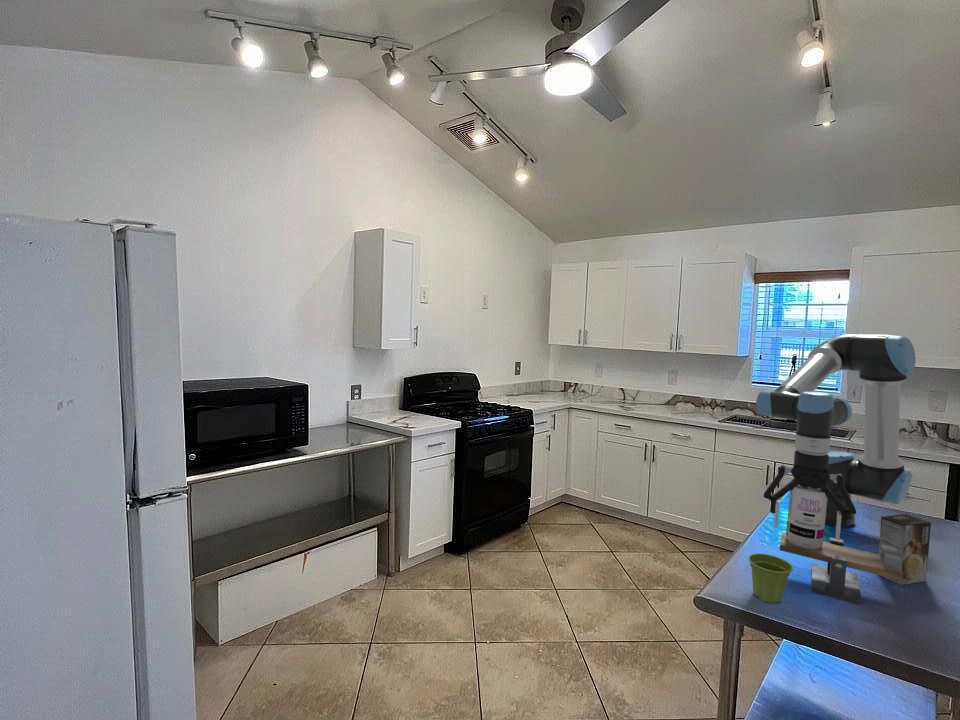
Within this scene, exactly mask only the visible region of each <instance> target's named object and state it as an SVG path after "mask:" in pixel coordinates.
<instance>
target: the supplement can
mask: <svg viewBox="0 0 960 720" xmlns="http://www.w3.org/2000/svg"><path fill="white" fill-rule="evenodd" d="M788 500H789V501H788V508H787V509H788V510H787V521H786V528H785V533H786V538H787V540H788V541H789V542H790V543H791V544H793V545H795V546H798V547H801V548H805V549H812V550H815V549H819V548H820V547H822V545H823V542H824V534H825V528H826V526H825V525H826V524H825V518H826V509H827V500H828V496H827V495H826V494H825V492H823V491H822V489H821V488H817V489H813V488H810V487H802V486H801V485H797V486H796V487H794V488H793V489H791V490H790V491H789V499H788Z"/></svg>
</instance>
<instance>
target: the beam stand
mask: <svg viewBox="0 0 960 720" xmlns="http://www.w3.org/2000/svg"><path fill="white" fill-rule="evenodd" d="M828 540H829V541H828V543H832V544H836V545H840V546H844V540H843V539H840V540H836V537H829V538H828ZM826 563H827V565H822V564H819V563H814V562H811V565H810V566H811V567H810V568H811V572H812V574H811V593H813V594H818V595H821V596H826V597H830V598H833V599H837V600H840V601H841V600H842V601H845V602H849V603H853V604H857V605H860V606H862V605H863V598H862V593H861V588H860V583H859V577H858V573H857V572H853V571H849V570H847V567H846V563H847V561H846V558H842V557H838V556H833V555H831V563H829V562H826ZM811 572H810V573H811Z"/></svg>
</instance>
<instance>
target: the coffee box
mask: <svg viewBox="0 0 960 720" xmlns="http://www.w3.org/2000/svg"><path fill="white" fill-rule="evenodd" d="M880 517H881V519H880V530H879V531H880V532H879V543H878V554H879V555H880V553H881V545H885V546H890V547H894V548H897V550H898V553H899V555H900V557H901V560H902V561H901V570H902V572H903V581H901V580H897V579H893V578H889V577H885V576H881V575H879V576H880V577H882V578H884V579H887V580H889V581H891V582H893V583H895V584H897V585H900V586H904V585H910V584H916V583H917V584H918V583H923V582H927V575H928V565H929V564H928V562H929V553H930V537H931V527H932V526H931V524H932V522H930V521H928V520H925V519H921V518H919V517H915V516H913V515H910V514H906V513H905V514H904V513H903V514H895V515H886V516H885V515H884V516H880Z"/></svg>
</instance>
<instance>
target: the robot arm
mask: <svg viewBox="0 0 960 720" xmlns="http://www.w3.org/2000/svg"><path fill="white" fill-rule="evenodd" d="M915 364H916V353H915V348H914V345H913V343H912V342H911V340H910V339H909V338H908V337H906V336H902V335H892V334H857V333H855V334H854V333H852V334H851V333H847V334H842V335H838V336H835V337H832V338H830V339H827V340H825V341H824V342H822V343H820V344H818V345H816V346H815V347H814V348H813V349H812V350H811V351H810V352H809V353H808V355H807V359H806V360H805V361H804V362H803V363H802V364H801V365H800V366H799V367H798V368H797V369H796V370H795V371H793V373H792V374H791V375H790V376H789V377H788V378H786V379H785V381H783V382H782V383H781V384H780V385H779V386H778V387H777V388H776V389H775V390H771V389H769V390H768V389H766V390H765V389H764V390H760V392H759V393H758V394H757V397H756V400H755V406H756V411H757V412H758V414H759V415H762V416H767V417H770V418H776V419H782V420H783V419H784V420H792V421H796V431H795V433H796V434H795V443H794V448H795V449H796V450H795V451H794V456H793V467H792V468H791V467H787V466H785V465H784V464H781V465H780V467H779V469H778V470H779V471H778V473H777V475H776V476H775V477H774V479H773V480H772V481H771V483H770V484H769V486H768V487H767V488H766V489H765V491H764V494H763V498H764V499H767V500H769V502H770V506H769V507H770V510H769V511H770V513H771V514H774V523H773V527H774V528H778V524H779V514H780V513H779V512H780V499H781V498H783V496H785V495H786V494H787V493H790V490H791V489H793V488H794V487H796V486H797V485H801V486H802V487H810V488H813V489H817V488H821V489H822V491H823V492H825V494H826V495H827V496H828V500H827V509H826V518H825V525H829V526H835V538H836V540H841V527H843V528H846V527H852V526H851V525H853V524H854V525H855V524H856V514H857V509H856V507H855V504H854V503H853V501H852V497H851V495H853V496H857V497H862V498H865V499H870V500H873V501H878V502H881V503H883V504H884V503H885V504H886V503H887V504H892V505H900V504H901V503H902V502H904V500H905V499H906V497H907V495H908V492H909V489H910V486H911V482H912V476H913V475H912V471H911V470H910V469H908V468H905V462H904V460H903V459H901V457H899V446H900V445H899V444H900V443H899V441H900V439H899V438H900V437H899V436H900V435H899V434H900V409H901V407H900V406H901V405H900V401H901V399H900V398H901V384H902V383H904V382H905V381H907V380H908V379H907V378H908V376H910V375H913V373H914V372H915V368H916V365H915ZM839 371H854V372H855V371H857V372H859V374H858V375H859V379H860V380H861V381H863V382H864V436H863V437H864V443H863V446H864V449H863V451H864V452H863V453H862V454H861V455H859V456H858V459H855V455H854V454H853V453H850V452H846V451H832V450H830V448H831V436H832V435H831V434H832V427H834V426H840V425H842V424H844V423H846V422H848V421H849V420H850V419H851V417H852V414H853V409H852V406H851V404H850V403H849V402H848V401H847V400H846V399H844V398H843V397H839V396H833V395H832V394H830V393H827V392H820V391H819V392H818V391H815V390H816V389H817V388H818V387H819V386H820V385H821V384H822V383H824V381H825V380H826V379H828V377H829V376H830V375H834V374H835V373H838V372H839ZM789 473H790V474H791V475H792V476H793V479H791V481H789V482H788V483H787V484H785V485H784V486H783V487H782V488H780V489H779V490H778V491H777V492H775V493H773V492H774V490H775V489H776V487H778V485H779V484H780V482H781V481H782V480H783V477H784V476H787V475H788V474H789ZM772 493H773V494H772ZM854 525H853V526H854Z"/></svg>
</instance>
